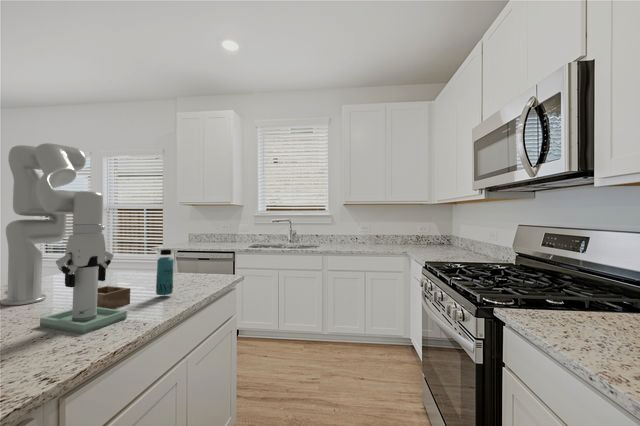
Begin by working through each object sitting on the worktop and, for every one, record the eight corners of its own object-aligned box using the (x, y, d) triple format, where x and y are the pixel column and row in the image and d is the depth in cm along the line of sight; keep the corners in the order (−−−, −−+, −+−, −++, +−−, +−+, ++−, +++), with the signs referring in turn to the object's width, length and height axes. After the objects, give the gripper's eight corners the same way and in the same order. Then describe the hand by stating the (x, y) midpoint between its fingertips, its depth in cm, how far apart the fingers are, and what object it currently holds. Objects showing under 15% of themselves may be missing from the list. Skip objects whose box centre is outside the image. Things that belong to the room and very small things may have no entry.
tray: (39, 326, 94) (40, 317, 94) (86, 312, 107) (86, 305, 107) (83, 333, 89) (83, 325, 89) (126, 318, 102) (126, 311, 102)
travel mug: (84, 322, 94) (86, 257, 95) (66, 320, 96) (69, 256, 96) (102, 316, 100) (104, 255, 101) (85, 315, 102) (88, 254, 102)
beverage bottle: (152, 297, 128) (153, 249, 128) (165, 294, 134) (166, 248, 134) (163, 299, 125) (164, 250, 125) (176, 295, 131) (177, 249, 132)
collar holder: (80, 308, 112) (80, 291, 112) (107, 300, 122) (107, 285, 122) (104, 311, 109) (104, 294, 109) (129, 303, 119) (130, 288, 119)
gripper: (104, 228, 108) (103, 277, 107) (48, 230, 91) (47, 288, 91) (121, 229, 105) (119, 279, 105) (67, 231, 89) (65, 290, 89)
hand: (86, 283), depth 98 cm, fingers open, 9 cm apart
